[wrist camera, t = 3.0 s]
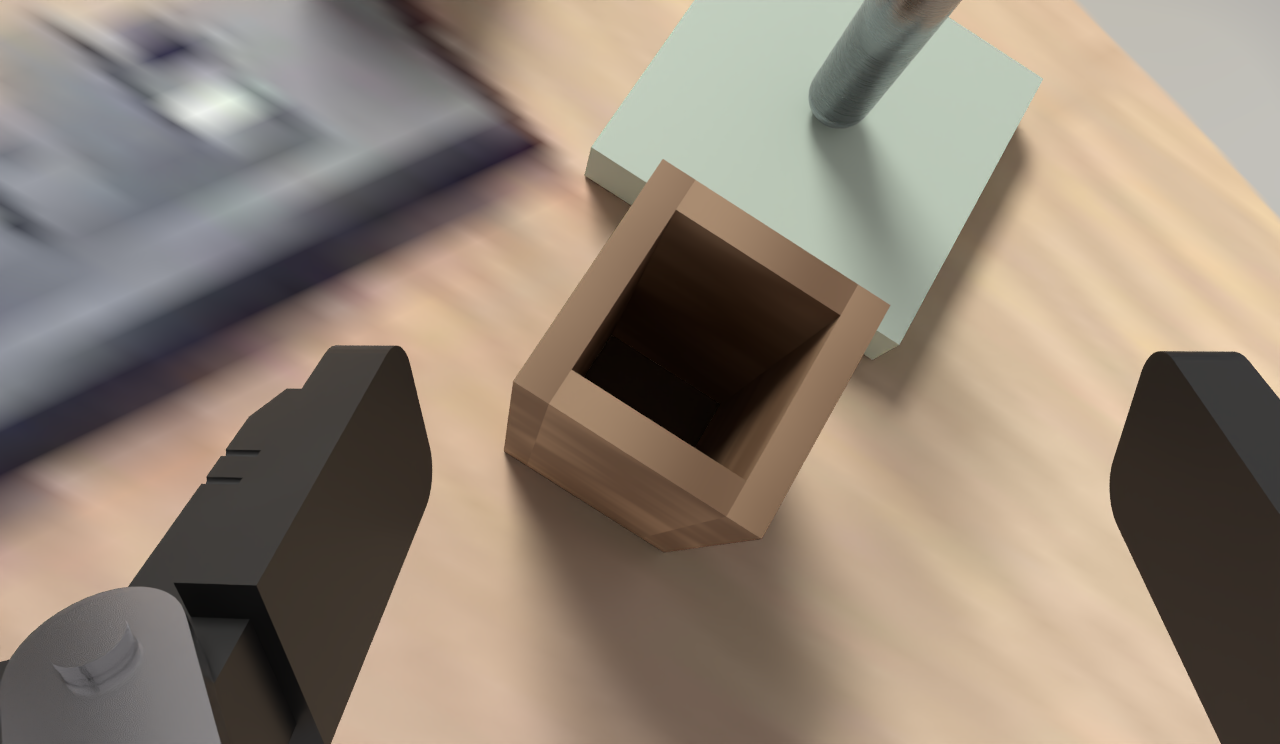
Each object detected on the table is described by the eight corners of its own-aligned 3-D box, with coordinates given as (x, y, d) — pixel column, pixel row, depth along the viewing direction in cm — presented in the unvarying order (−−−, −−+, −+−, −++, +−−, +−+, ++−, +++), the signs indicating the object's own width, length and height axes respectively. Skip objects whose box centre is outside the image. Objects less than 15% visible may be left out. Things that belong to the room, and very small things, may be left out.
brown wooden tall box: (503, 451, 27) (513, 381, 17) (603, 300, 28) (662, 158, 19) (663, 552, 27) (761, 538, 17) (754, 396, 29) (890, 304, 19)
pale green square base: (584, 175, 29) (591, 146, 27) (749, -62, 32) (766, -102, 30) (872, 360, 29) (899, 345, 28) (1009, 108, 32) (1043, 79, 30)
